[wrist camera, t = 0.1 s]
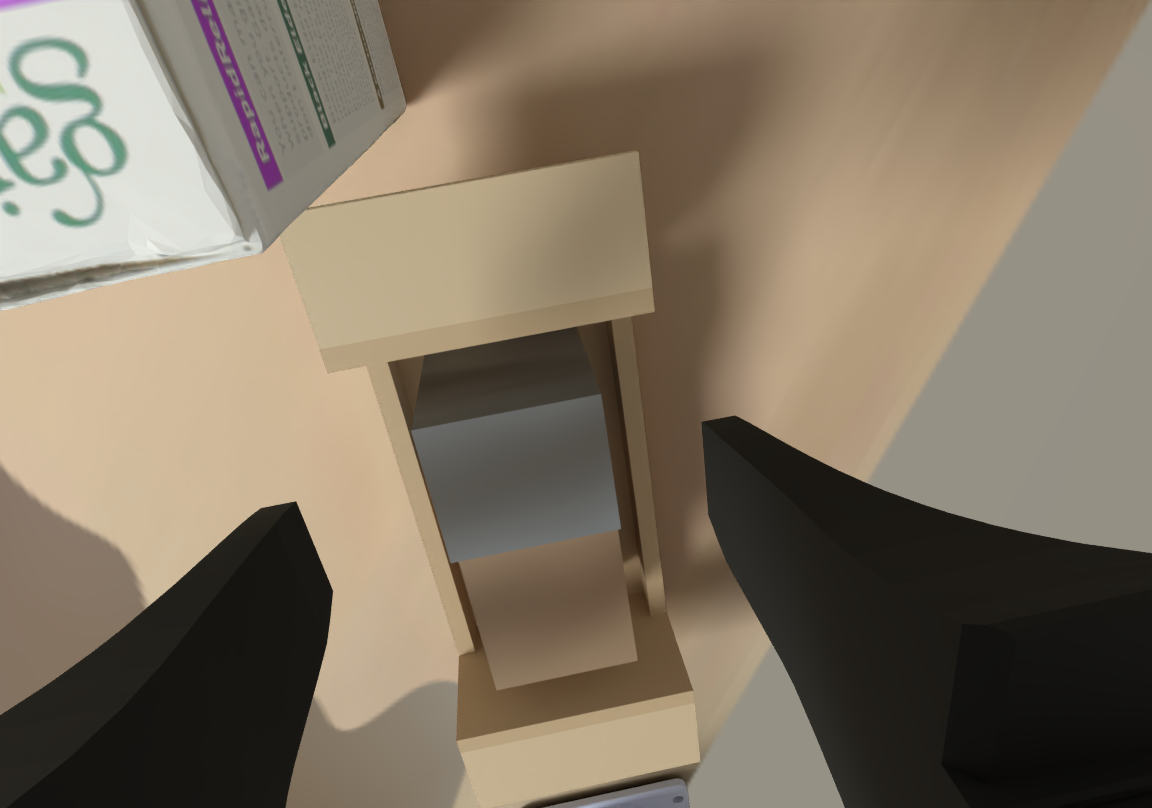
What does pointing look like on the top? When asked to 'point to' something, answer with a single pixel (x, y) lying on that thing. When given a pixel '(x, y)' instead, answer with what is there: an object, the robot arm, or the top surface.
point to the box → (528, 502)
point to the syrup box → (175, 130)
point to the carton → (489, 314)
